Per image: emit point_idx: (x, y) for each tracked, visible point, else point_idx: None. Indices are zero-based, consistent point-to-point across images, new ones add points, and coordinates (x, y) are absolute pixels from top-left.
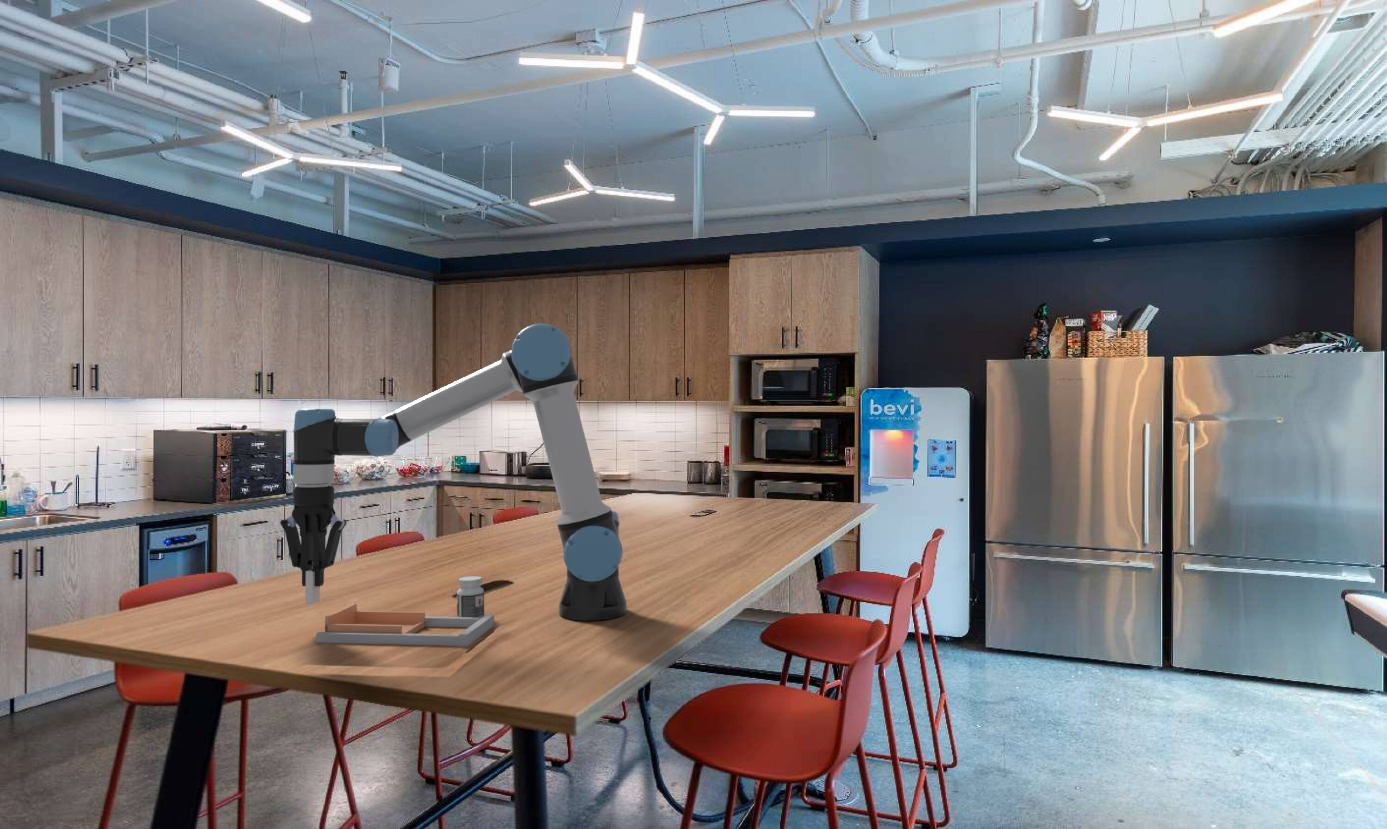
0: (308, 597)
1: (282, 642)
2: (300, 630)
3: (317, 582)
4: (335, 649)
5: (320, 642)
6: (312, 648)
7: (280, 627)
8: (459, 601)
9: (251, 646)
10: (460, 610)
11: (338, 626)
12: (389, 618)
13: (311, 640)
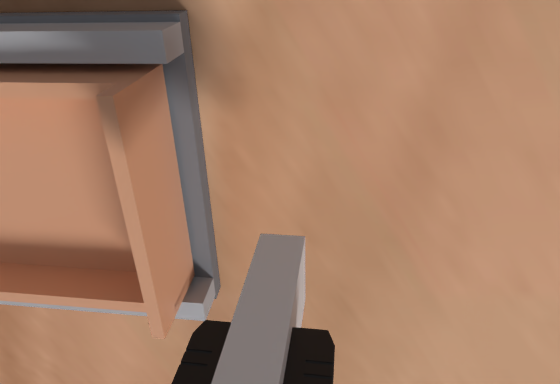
0: (280, 259)
1: (403, 111)
2: (417, 274)
3: (208, 343)
4: None
5: (157, 23)
6: (211, 27)
7: (521, 310)
8: None
9: (527, 35)
10: None
11: (66, 79)
12: (37, 276)
13: (291, 146)
